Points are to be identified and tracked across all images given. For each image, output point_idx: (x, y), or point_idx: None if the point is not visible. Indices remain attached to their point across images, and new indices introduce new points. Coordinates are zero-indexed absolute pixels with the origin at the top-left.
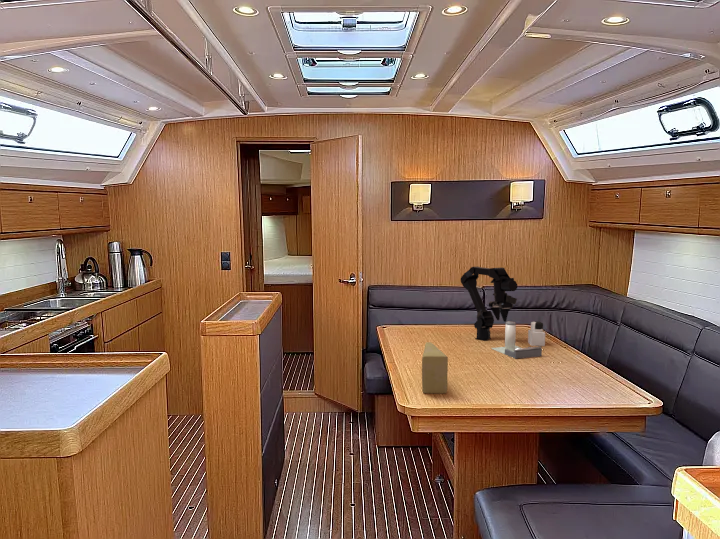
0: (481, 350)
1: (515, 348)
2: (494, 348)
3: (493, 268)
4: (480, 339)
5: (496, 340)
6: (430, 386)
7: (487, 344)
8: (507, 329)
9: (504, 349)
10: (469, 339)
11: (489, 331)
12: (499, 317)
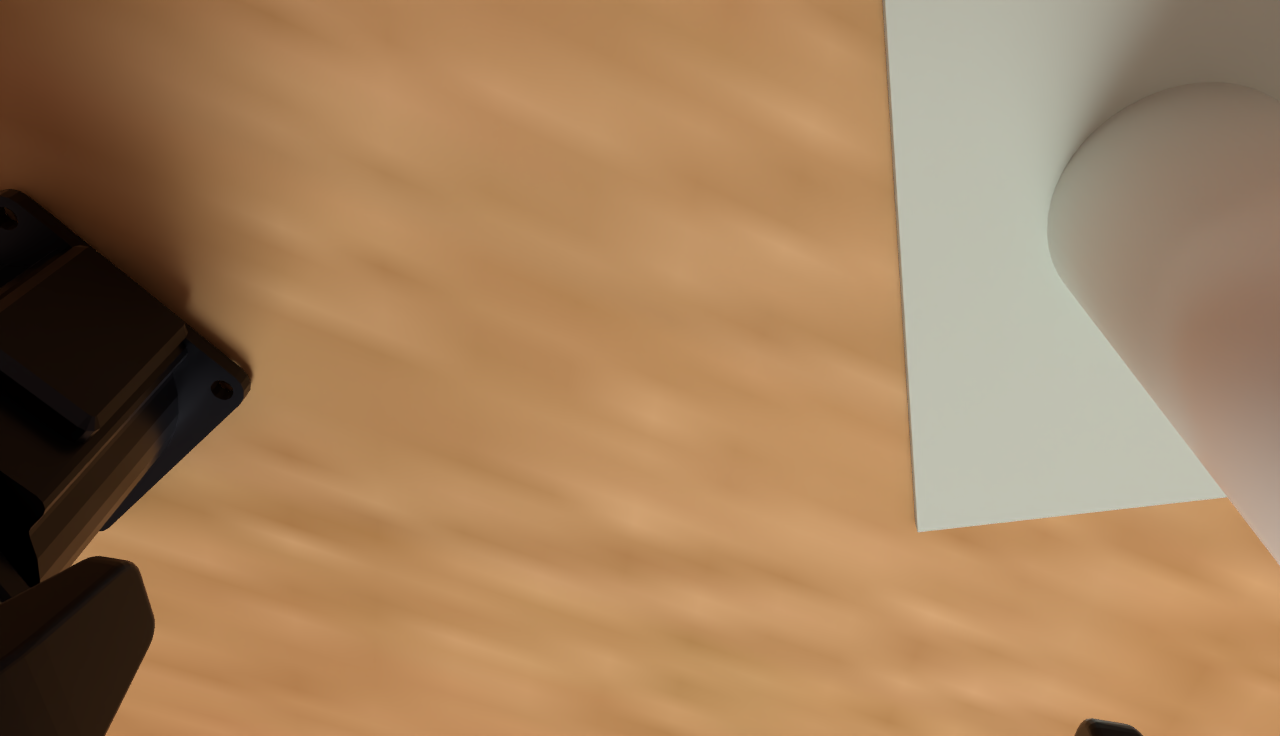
0: (978, 706)
1: (1158, 18)
2: (973, 490)
3: None
4: (176, 461)
5: (181, 108)
6: None
7: (569, 460)
8: None
9: None
10: None
11: (22, 377)
12: (33, 659)
